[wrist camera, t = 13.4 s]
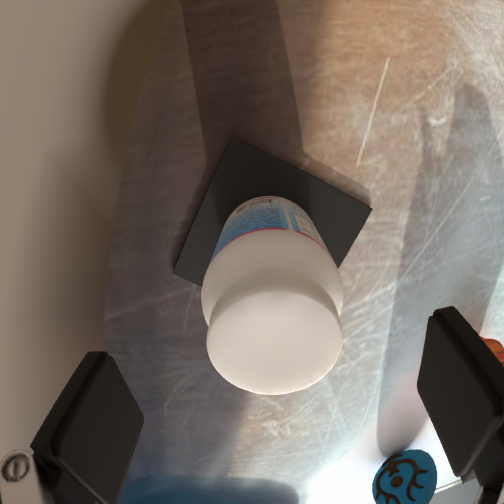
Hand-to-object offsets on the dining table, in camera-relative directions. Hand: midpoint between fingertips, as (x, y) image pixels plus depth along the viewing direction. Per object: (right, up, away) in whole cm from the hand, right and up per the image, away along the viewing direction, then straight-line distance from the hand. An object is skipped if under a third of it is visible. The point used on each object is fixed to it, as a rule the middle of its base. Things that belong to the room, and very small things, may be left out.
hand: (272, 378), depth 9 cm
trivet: (+1, +4, +13) cm, 13 cm away
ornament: (+17, -21, +22) cm, 34 cm away
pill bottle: (+1, +4, +13) cm, 13 cm away
